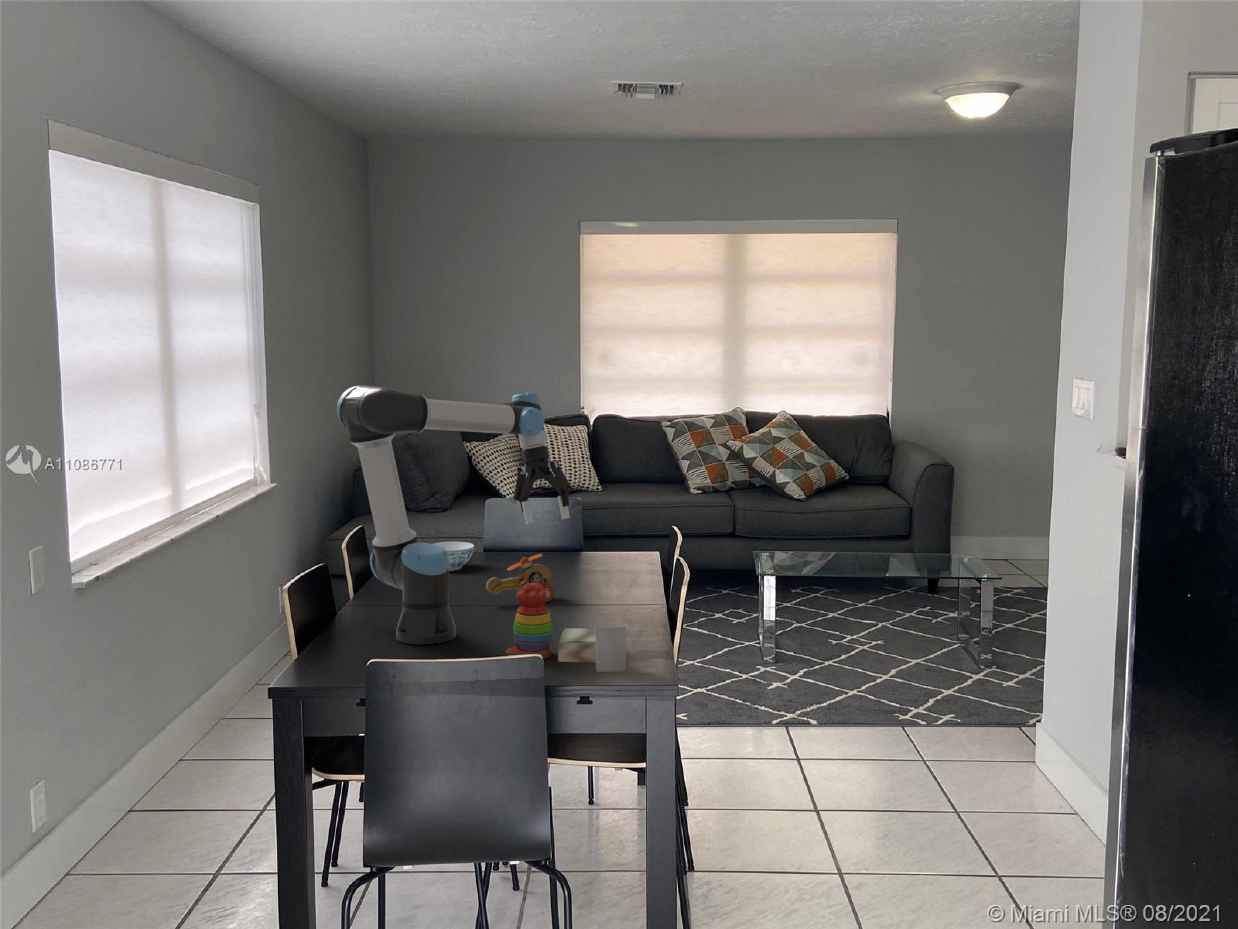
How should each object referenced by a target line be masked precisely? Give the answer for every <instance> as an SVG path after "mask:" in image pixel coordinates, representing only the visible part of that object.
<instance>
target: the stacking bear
mask: <svg viewBox="0 0 1238 929" xmlns="http://www.w3.org/2000/svg"><path fill="white" fill-rule="evenodd" d="M516 600H517V602H518V603H519V604H520V606H519V607H518V608H517V610H516V611H517V612H516V614H515V618H514V623H513V628H512V629H513V637H514V644H515V645H514V646H511V647H509V648H506V650H505V651H504V655H505V654H542V655H543V656H544V659H543V660H545V659H548V658H549V657H551V656H552V649H551V647H550V644H551V640H552V639H551V638H552V636H553V623H552V618H551V613H550V611H549V610H548V607H546V606H545V603H546V602H545V601H546V591H545V589H544V587H543V585H542V583H541V582H537V583H528V584H526V585H524V586H523V587H522V588H521V589H520V591H519V592H518V591H517V593H516Z"/></svg>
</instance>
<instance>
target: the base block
mask: <svg viewBox="0 0 1238 929" xmlns="http://www.w3.org/2000/svg"><path fill="white" fill-rule="evenodd" d="M557 662H558V663H595V664H596V628H579V627H578V628H571V627H565V628H564V629H563V631H562V633H561V634H560V638H559V640H558V643H557Z"/></svg>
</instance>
